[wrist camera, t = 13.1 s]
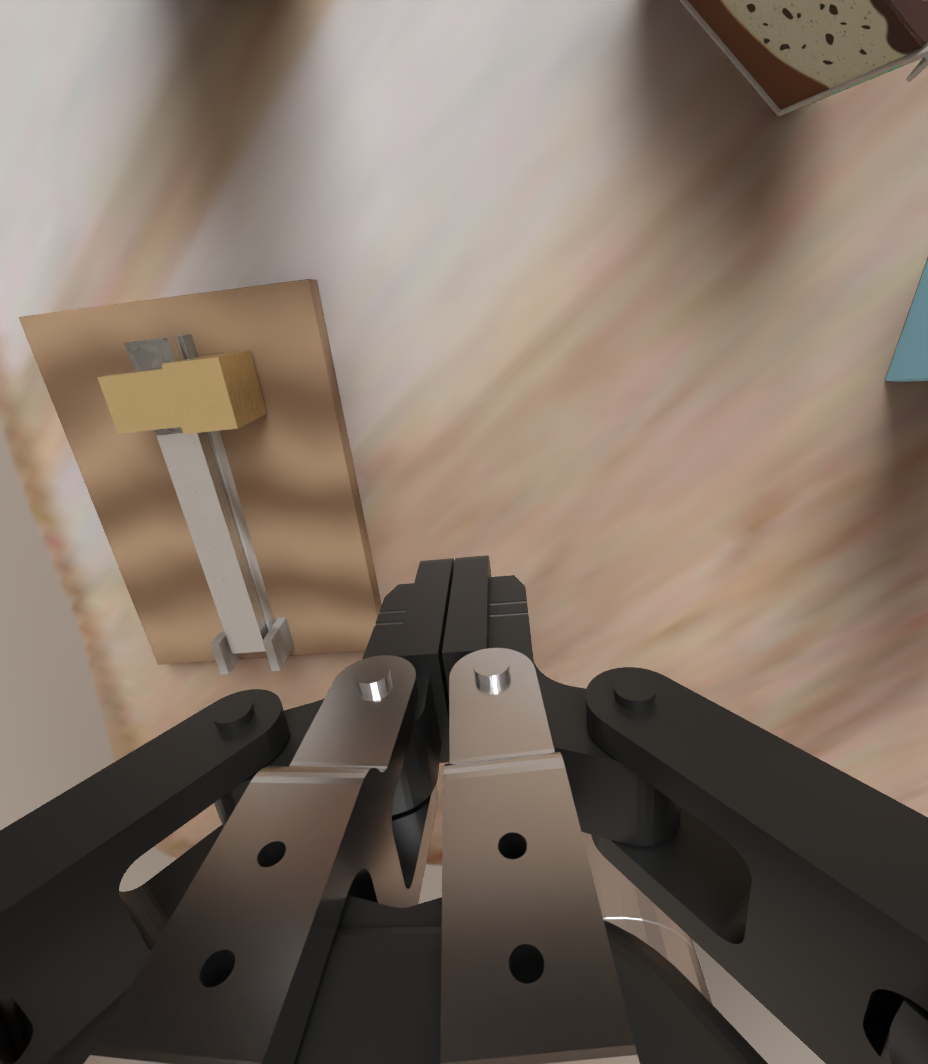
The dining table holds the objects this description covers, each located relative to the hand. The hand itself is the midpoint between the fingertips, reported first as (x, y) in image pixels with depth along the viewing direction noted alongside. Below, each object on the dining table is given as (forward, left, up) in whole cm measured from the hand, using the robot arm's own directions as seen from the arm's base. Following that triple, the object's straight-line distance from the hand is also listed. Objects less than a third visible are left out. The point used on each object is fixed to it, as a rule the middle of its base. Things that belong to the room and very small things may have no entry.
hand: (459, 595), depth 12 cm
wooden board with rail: (-4, +17, -23) cm, 29 cm away
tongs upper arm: (-4, +17, -20) cm, 27 cm away
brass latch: (+3, +16, -21) cm, 27 cm away
